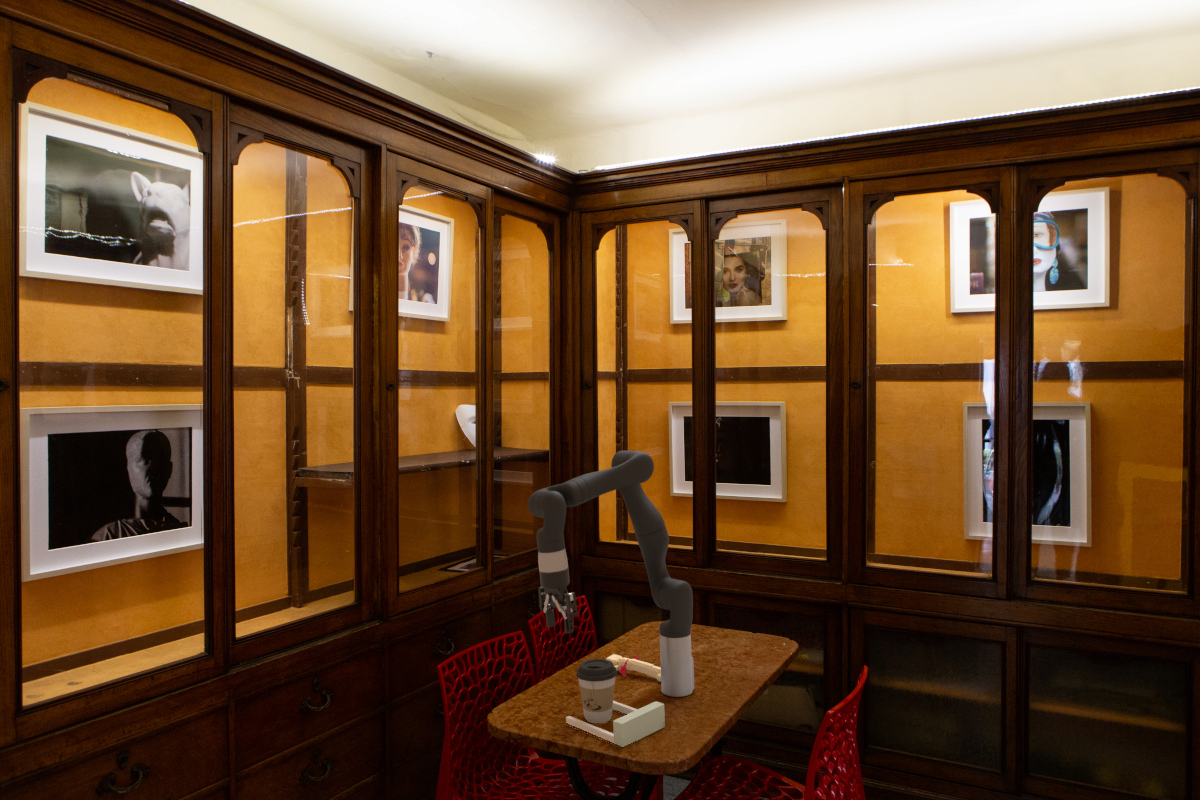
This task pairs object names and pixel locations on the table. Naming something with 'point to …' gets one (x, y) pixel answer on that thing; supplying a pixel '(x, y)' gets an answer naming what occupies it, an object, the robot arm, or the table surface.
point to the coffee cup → (597, 689)
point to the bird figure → (634, 666)
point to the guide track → (628, 723)
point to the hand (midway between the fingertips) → (560, 629)
